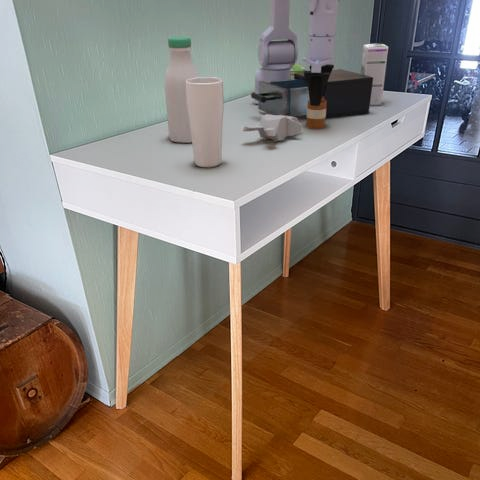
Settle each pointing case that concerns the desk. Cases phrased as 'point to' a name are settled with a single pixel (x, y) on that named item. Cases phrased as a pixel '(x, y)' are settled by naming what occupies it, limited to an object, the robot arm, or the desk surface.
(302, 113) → the drawer
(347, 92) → the cabinet
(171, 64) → the milk bottle
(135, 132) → the desk surface
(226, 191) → the desk surface
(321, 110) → the bottle
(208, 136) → the drinking glass
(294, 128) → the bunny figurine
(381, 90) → the syrup box
